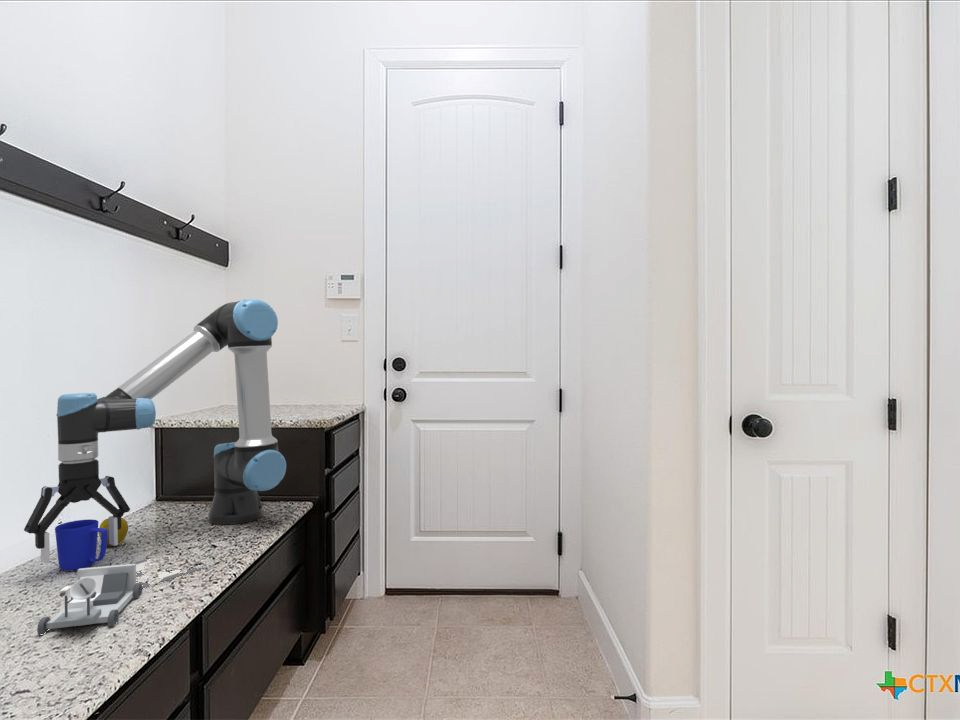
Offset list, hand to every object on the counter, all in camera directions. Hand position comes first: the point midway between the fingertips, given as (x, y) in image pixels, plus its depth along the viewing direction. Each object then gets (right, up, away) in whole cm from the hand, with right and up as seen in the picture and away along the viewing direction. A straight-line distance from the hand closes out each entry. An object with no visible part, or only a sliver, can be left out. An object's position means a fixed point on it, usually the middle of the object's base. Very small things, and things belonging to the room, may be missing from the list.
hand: (81, 552), depth 129 cm
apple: (-3, -4, +16) cm, 17 cm away
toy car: (+20, -4, -25) cm, 32 cm away
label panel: (+18, -3, -3) cm, 18 cm away
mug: (0, -4, 0) cm, 4 cm away
